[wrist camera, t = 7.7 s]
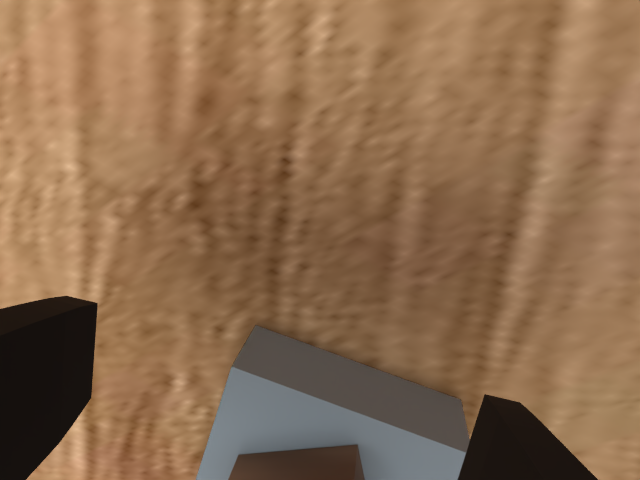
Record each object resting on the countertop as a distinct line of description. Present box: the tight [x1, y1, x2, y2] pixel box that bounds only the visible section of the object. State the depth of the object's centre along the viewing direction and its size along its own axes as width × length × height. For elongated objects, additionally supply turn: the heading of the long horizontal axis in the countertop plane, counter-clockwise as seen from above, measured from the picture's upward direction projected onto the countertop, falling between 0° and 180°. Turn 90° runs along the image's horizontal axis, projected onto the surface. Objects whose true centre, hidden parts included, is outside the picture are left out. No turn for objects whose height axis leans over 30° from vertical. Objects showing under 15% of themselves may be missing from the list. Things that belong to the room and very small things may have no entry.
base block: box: [196, 325, 470, 480], centre depth 20 cm, size 8×8×4 cm
